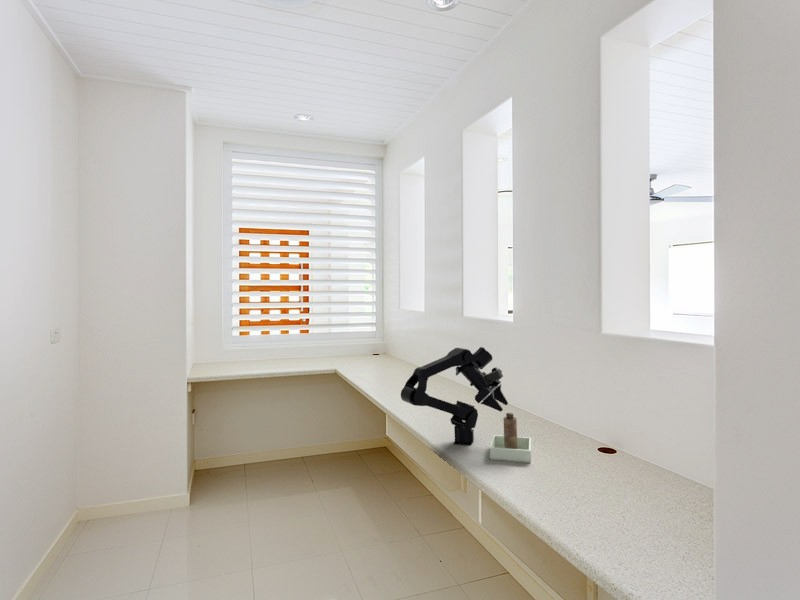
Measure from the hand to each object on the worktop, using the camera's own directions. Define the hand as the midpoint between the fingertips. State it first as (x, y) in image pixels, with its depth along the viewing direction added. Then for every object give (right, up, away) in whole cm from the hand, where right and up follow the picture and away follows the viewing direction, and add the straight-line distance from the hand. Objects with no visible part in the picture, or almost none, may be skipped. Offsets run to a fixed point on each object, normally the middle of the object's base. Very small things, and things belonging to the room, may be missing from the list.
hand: (504, 407), depth 168 cm
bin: (0, -14, -10) cm, 17 cm away
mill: (0, -13, -10) cm, 16 cm away
